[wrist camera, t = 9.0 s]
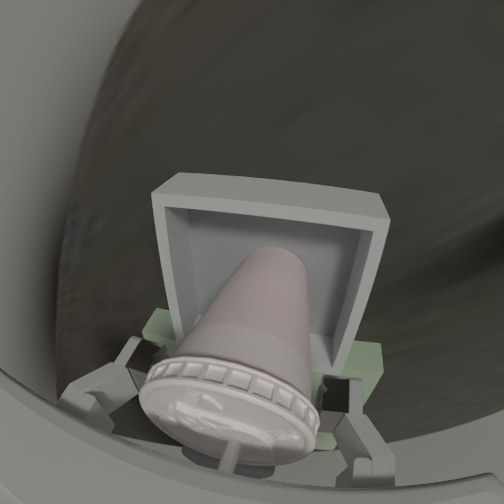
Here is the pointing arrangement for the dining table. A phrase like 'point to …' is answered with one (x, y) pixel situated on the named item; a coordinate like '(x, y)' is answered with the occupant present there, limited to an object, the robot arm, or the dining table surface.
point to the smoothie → (243, 370)
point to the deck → (282, 236)
